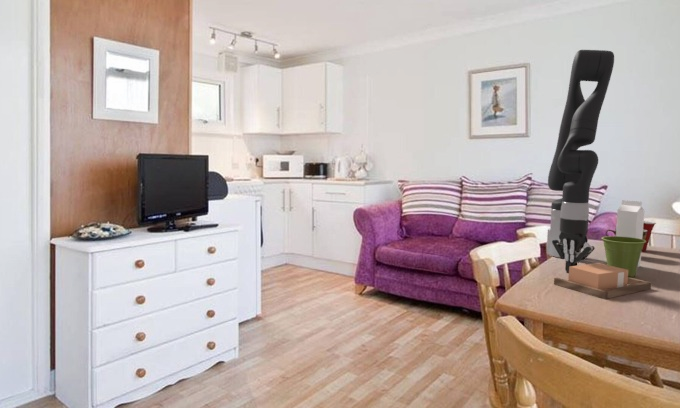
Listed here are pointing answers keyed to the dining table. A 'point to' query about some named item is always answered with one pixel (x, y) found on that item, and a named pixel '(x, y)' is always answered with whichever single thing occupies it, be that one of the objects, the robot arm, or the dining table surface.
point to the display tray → (633, 286)
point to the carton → (598, 276)
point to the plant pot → (623, 252)
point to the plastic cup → (649, 228)
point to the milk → (630, 220)
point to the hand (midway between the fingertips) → (570, 273)
